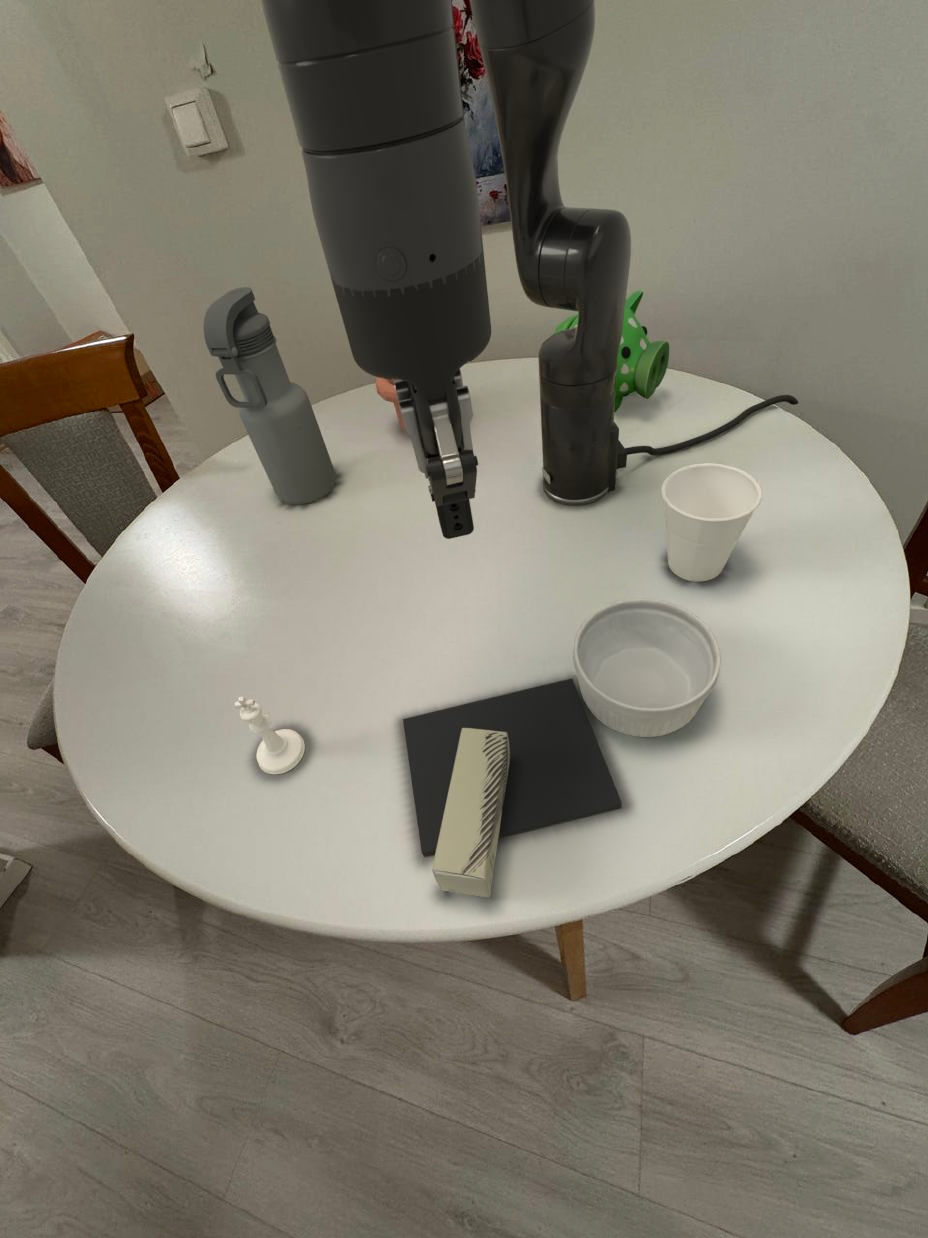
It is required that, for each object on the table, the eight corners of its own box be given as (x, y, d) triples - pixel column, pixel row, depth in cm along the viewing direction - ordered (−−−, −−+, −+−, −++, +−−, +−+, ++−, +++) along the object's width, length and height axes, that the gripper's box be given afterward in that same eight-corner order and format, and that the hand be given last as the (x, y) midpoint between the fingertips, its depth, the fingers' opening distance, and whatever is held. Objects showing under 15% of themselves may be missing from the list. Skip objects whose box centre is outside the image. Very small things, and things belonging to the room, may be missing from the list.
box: (511, 756, 55) (492, 900, 47) (466, 751, 56) (439, 892, 48) (508, 728, 51) (486, 881, 43) (459, 724, 52) (429, 873, 44)
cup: (745, 546, 70) (768, 469, 62) (732, 604, 65) (755, 527, 57) (661, 531, 74) (672, 457, 66) (642, 585, 68) (652, 511, 60)
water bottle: (318, 511, 87) (238, 316, 66) (264, 505, 90) (172, 317, 69) (348, 471, 93) (283, 281, 72) (296, 466, 96) (220, 283, 75)
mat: (572, 682, 61) (572, 677, 60) (621, 807, 51) (622, 803, 51) (404, 723, 60) (402, 718, 60) (423, 856, 51) (421, 853, 50)
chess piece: (262, 735, 62) (219, 680, 54) (307, 728, 62) (271, 672, 54) (254, 778, 59) (208, 726, 51) (302, 771, 58) (263, 718, 51)
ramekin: (681, 773, 53) (693, 734, 48) (550, 716, 58) (548, 676, 53) (725, 667, 59) (740, 623, 54) (603, 625, 65) (606, 582, 60)
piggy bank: (637, 431, 89) (647, 332, 78) (532, 412, 97) (527, 319, 86) (669, 387, 97) (681, 290, 86) (568, 372, 105) (568, 282, 93)
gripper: (514, 280, 24) (534, 581, 36) (456, 202, 32) (488, 466, 45) (333, 320, 23) (417, 609, 36) (324, 231, 32) (394, 488, 45)
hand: (457, 529), depth 41 cm, fingers closed
